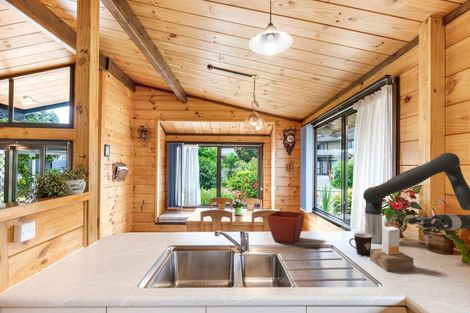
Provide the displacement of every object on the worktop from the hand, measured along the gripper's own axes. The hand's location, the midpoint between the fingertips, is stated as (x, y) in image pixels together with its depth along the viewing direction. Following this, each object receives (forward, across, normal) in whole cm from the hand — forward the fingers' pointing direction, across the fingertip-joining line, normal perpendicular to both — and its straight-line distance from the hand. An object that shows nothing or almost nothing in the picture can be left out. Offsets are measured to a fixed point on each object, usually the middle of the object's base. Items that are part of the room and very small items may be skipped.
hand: (415, 223), depth 126 cm
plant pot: (+50, -46, +21) cm, 72 cm away
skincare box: (+14, +1, +14) cm, 20 cm away
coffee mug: (+19, -16, +20) cm, 32 cm away
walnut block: (+14, +1, +20) cm, 24 cm away
